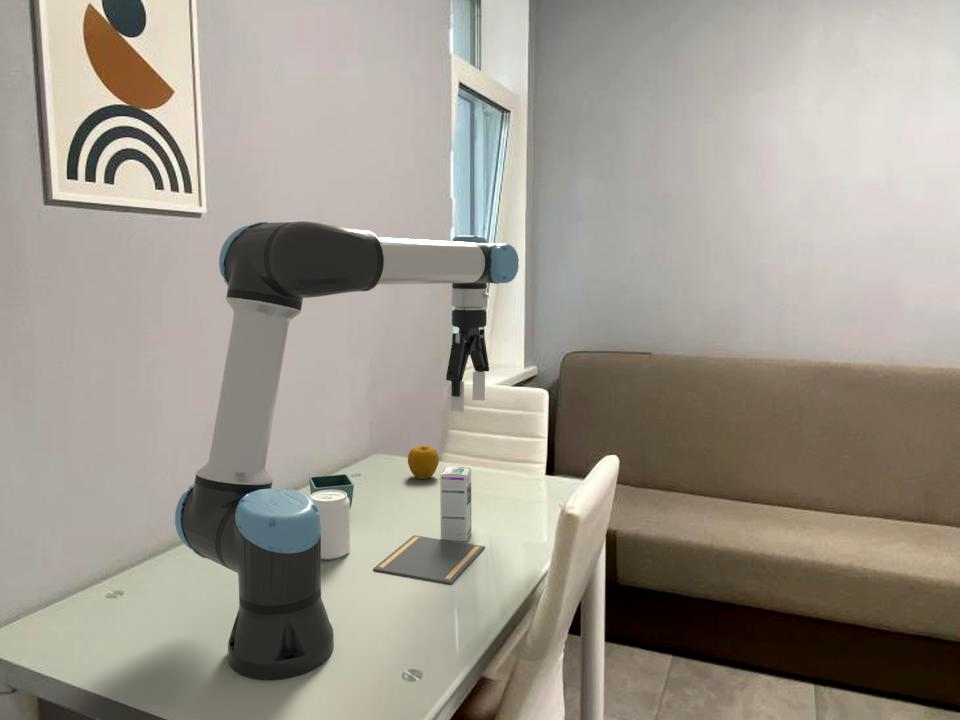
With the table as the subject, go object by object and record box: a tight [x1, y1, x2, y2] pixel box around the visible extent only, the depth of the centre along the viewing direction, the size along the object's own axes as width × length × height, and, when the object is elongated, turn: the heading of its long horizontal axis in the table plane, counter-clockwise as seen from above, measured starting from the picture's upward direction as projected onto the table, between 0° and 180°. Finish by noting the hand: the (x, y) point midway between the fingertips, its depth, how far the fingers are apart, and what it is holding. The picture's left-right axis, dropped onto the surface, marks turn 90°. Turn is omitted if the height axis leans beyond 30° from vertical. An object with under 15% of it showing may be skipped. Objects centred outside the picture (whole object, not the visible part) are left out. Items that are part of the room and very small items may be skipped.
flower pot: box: [308, 473, 355, 509], centre depth 160 cm, size 9×9×9 cm
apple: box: [407, 445, 440, 480], centre depth 193 cm, size 8×8×9 cm
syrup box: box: [439, 466, 473, 542], centre depth 151 cm, size 6×6×14 cm
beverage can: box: [309, 490, 351, 560], centre depth 141 cm, size 8×8×12 cm
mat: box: [372, 534, 486, 585], centre depth 139 cm, size 18×16×1 cm
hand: (468, 405), depth 155 cm, fingers open, 13 cm apart
